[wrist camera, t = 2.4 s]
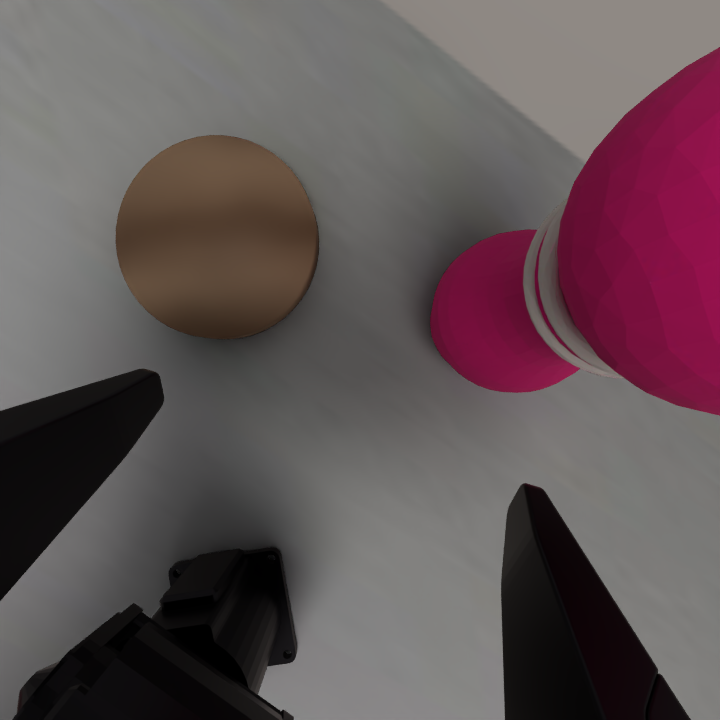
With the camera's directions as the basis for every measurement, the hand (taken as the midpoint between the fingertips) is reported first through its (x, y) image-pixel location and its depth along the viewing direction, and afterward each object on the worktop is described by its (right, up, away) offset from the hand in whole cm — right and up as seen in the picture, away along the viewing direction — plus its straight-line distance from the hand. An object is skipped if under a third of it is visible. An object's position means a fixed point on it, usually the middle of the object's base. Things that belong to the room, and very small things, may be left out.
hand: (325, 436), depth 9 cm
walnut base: (-7, +8, +13) cm, 17 cm away
